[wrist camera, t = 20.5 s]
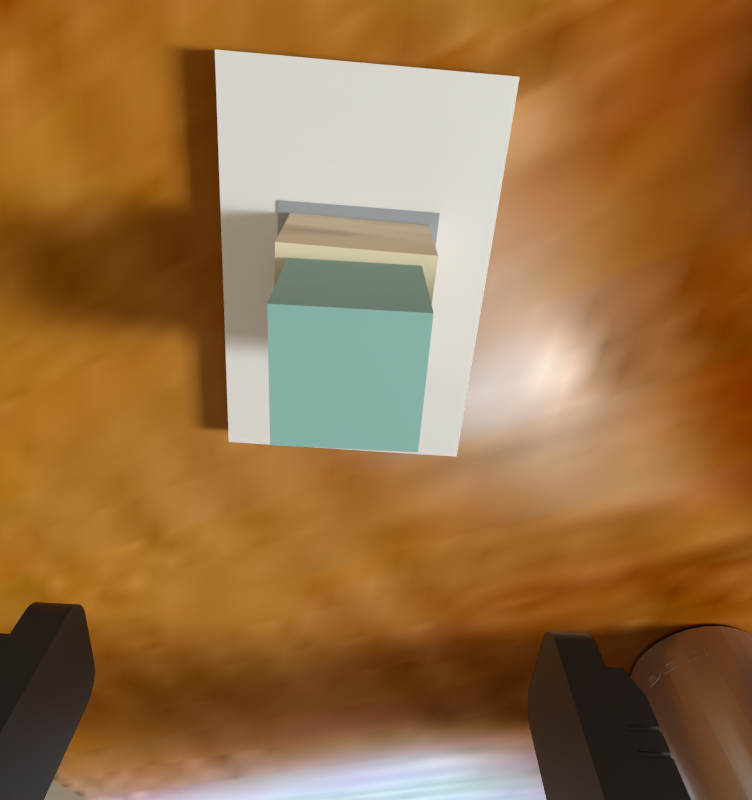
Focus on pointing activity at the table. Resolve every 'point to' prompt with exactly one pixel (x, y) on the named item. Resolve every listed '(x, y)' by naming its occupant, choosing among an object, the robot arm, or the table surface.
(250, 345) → the board
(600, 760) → the robot arm
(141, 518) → the table surface
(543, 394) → the table surface
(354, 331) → the teal cube
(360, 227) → the birch block
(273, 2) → the table surface
